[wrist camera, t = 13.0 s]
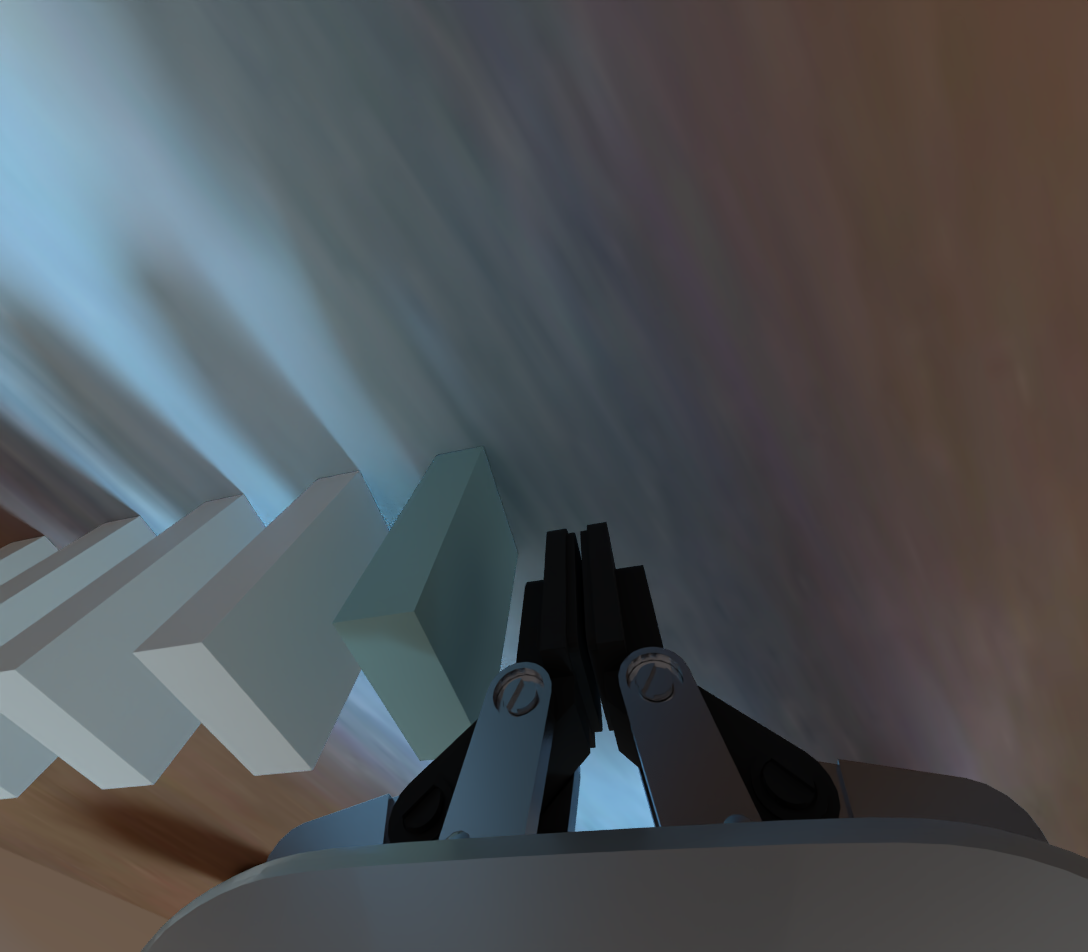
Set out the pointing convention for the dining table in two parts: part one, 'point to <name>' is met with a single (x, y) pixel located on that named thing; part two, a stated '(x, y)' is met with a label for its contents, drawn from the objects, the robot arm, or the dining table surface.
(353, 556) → the domino
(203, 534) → the domino
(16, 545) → the domino
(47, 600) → the domino
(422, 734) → the domino
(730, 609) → the dining table surface
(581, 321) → the dining table surface
